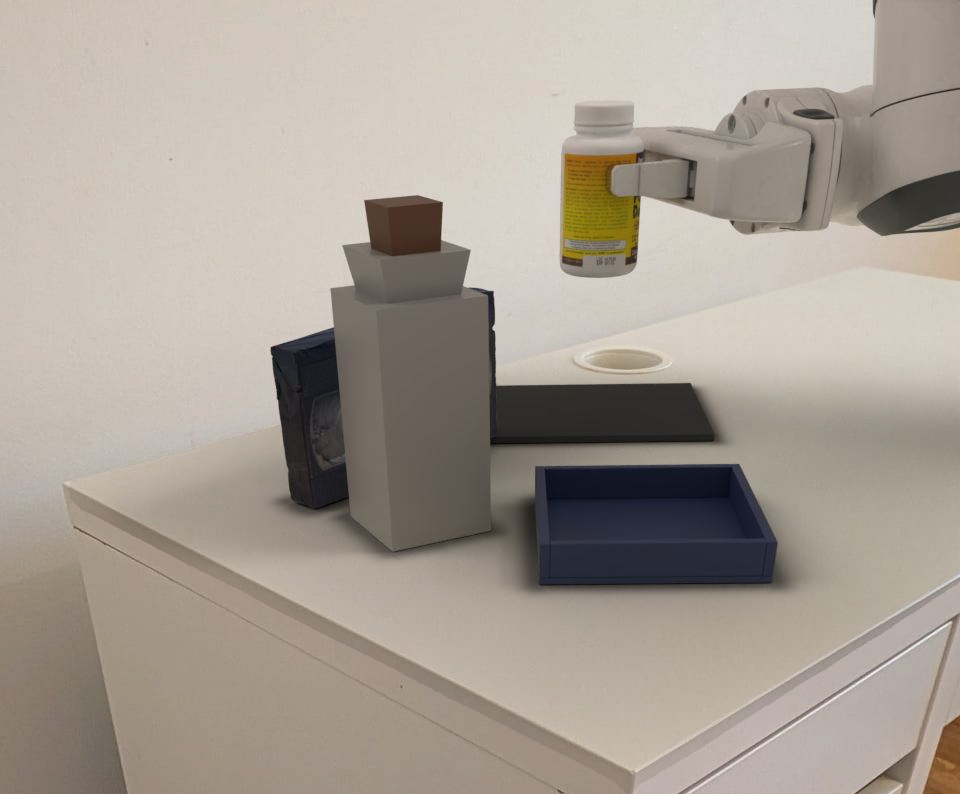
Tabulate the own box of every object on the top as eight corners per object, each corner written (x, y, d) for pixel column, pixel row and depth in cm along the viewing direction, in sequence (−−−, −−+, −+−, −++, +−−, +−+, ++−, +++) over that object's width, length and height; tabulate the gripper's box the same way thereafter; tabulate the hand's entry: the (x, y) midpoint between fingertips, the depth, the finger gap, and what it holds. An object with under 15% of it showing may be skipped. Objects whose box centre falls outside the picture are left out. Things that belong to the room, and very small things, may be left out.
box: (735, 500, 75) (739, 463, 73) (772, 582, 64) (778, 542, 63) (534, 502, 75) (535, 465, 74) (538, 584, 65) (539, 544, 63)
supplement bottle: (643, 278, 80) (653, 104, 74) (564, 281, 79) (568, 106, 73) (629, 263, 84) (638, 98, 78) (555, 266, 84) (558, 100, 78)
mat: (690, 388, 96) (690, 382, 96) (714, 440, 85) (714, 434, 84) (477, 391, 96) (477, 385, 96) (472, 443, 85) (472, 437, 85)
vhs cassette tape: (313, 511, 75) (292, 351, 68) (285, 501, 76) (261, 343, 70) (504, 437, 85) (500, 291, 78) (475, 429, 86) (469, 285, 80)
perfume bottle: (350, 516, 74) (322, 199, 63) (444, 497, 76) (432, 189, 65) (392, 551, 69) (370, 214, 58) (491, 530, 71) (486, 203, 61)
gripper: (707, 101, 87) (537, 110, 84) (856, 121, 72) (656, 132, 68) (699, 195, 91) (536, 207, 88) (839, 234, 75) (648, 249, 72)
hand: (589, 174), depth 78 cm, fingers closed on supplement bottle, 5 cm apart
